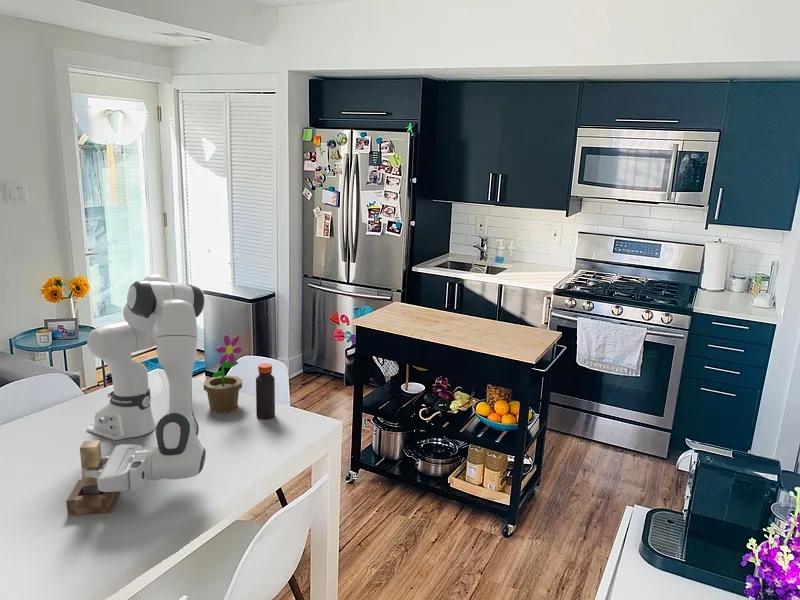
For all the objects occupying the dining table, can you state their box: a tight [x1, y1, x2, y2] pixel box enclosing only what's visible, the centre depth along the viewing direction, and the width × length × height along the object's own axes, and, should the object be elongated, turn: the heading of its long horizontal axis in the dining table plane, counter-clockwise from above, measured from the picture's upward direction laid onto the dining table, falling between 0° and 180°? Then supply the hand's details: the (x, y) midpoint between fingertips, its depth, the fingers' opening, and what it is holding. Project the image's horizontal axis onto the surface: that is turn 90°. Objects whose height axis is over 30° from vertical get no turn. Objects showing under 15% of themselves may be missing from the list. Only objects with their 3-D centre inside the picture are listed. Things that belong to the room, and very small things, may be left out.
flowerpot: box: [203, 334, 243, 413], centre depth 228 cm, size 14×14×30 cm
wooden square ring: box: [65, 479, 121, 517], centre depth 165 cm, size 10×10×4 cm
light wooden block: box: [79, 439, 104, 496], centre depth 163 cm, size 4×4×16 cm
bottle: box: [255, 362, 276, 421], centre depth 223 cm, size 7×7×20 cm
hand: (88, 468), depth 163 cm, fingers closed on light wooden block, 4 cm apart
